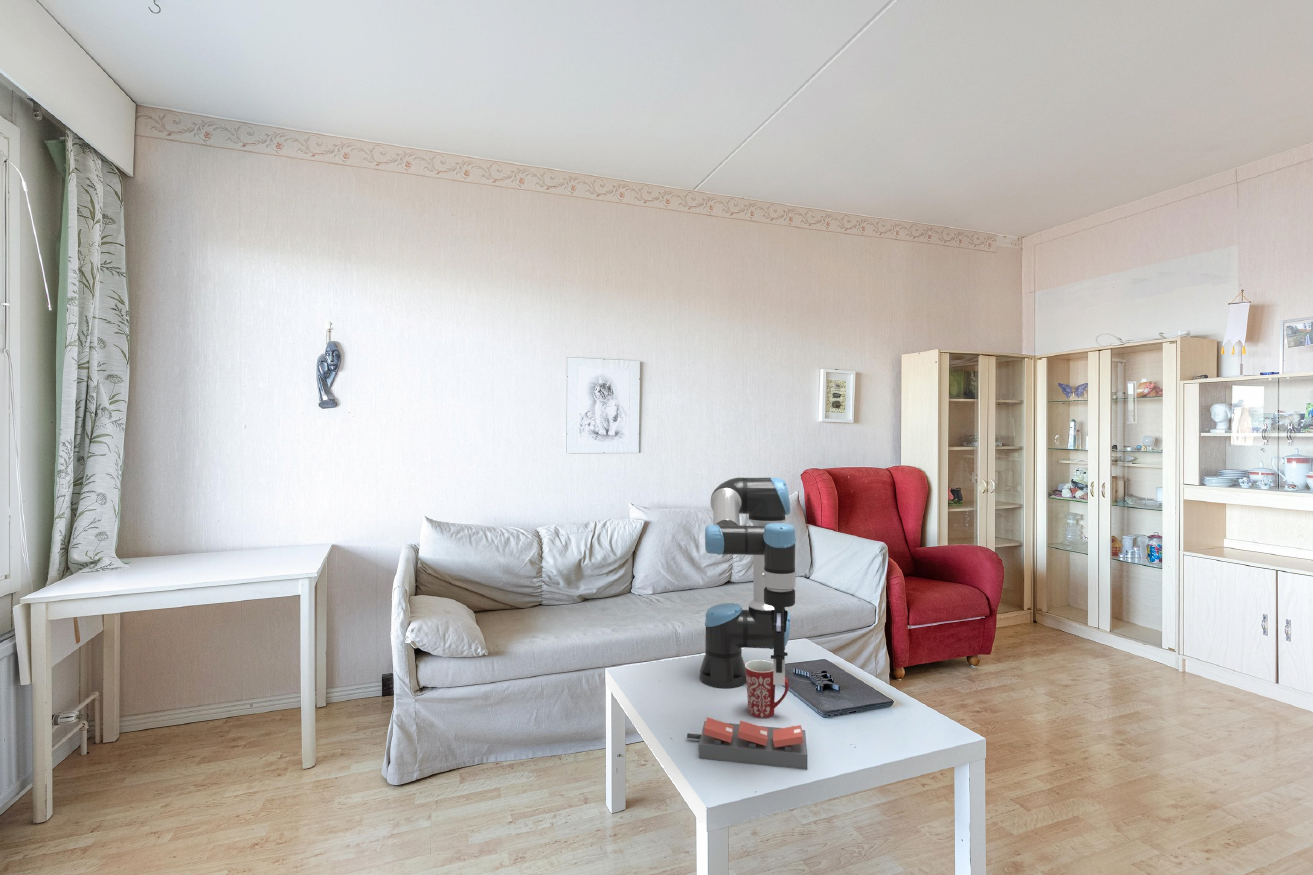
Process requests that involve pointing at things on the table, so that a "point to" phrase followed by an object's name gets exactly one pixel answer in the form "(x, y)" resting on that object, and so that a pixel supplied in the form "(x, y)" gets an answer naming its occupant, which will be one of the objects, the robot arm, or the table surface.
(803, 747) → the power strip
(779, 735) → the block
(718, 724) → the rocker
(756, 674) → the mug
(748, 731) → the red box
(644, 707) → the table surface
